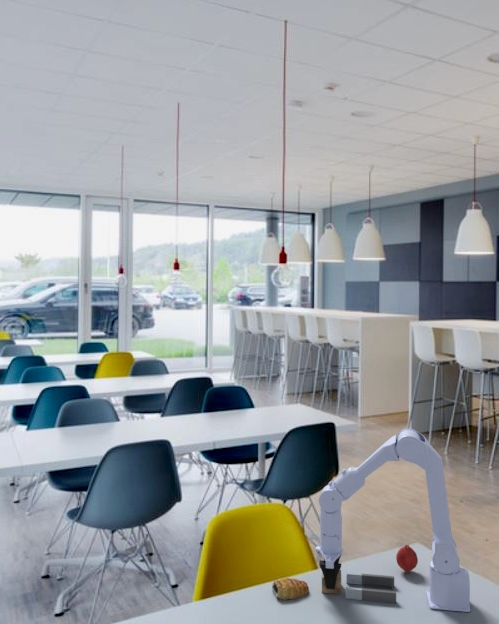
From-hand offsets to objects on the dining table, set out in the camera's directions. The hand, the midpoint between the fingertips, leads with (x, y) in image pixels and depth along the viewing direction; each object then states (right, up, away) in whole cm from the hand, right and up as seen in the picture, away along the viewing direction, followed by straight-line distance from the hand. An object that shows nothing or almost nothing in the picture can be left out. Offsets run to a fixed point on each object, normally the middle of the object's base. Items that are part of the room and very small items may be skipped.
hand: (330, 583), depth 153 cm
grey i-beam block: (+10, -1, -2) cm, 11 cm away
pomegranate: (+23, -1, +9) cm, 24 cm away
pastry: (-11, -2, -2) cm, 12 cm away
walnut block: (0, -1, 0) cm, 1 cm away
